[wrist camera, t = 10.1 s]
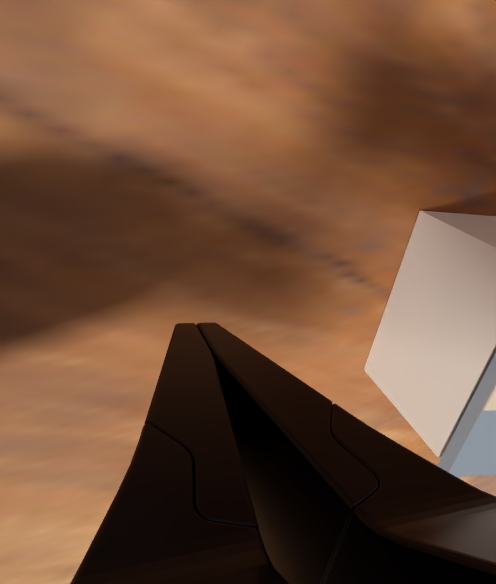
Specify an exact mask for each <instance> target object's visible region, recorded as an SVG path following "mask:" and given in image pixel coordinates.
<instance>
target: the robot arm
mask: <svg viewBox="0 0 496 584" xmlns="http://www.w3.org/2000/svg"><path fill="white" fill-rule="evenodd" d="M70 584H496V496H493V495H491V494H488V493H486V492H483V491H481V490H479V489H477V488H475V487H473V486H471V485H470V484H468V483H466V482H464V481H463V480H461V479H459V478H457V477H456V476H454V475H452V474H450V473H449V472H447V471H445V470H443V469H442V468H440V467H438V466H436V465H435V464H433V463H431V462H429V461H428V460H426V459H424V458H422V457H421V456H419V455H417V454H415V453H414V452H412V451H410V450H408V449H407V448H405V447H403V446H401V445H400V444H398V443H396V442H395V441H393V440H391V439H390V438H388V437H386V436H385V435H383V434H381V433H380V432H378V431H376V430H375V429H373V428H371V427H370V426H368V425H367V424H365V423H364V422H362V421H361V420H359V419H358V418H356V417H354V416H353V415H351V414H350V413H348V412H347V411H345V410H344V409H342V408H341V407H340V406H338V405H337V404H333V405H332V401H330V400H329V399H328V398H326V397H325V396H323V395H322V394H320V393H319V392H317V391H316V390H314V389H313V388H311V387H310V386H308V385H307V384H305V383H304V382H302V381H301V380H299V379H298V378H297V377H295V376H294V375H292V374H291V373H289V372H288V371H286V370H285V369H283V368H282V367H280V366H279V365H277V364H276V363H274V362H273V361H271V360H270V359H269V358H267V357H266V356H264V355H263V354H261V353H260V352H258V351H257V350H255V349H254V348H252V347H251V346H249V345H248V344H246V343H245V342H243V341H242V340H240V339H239V338H238V337H236V336H235V335H233V334H232V333H230V332H229V331H227V330H226V329H224V328H223V327H221V326H220V325H218V324H217V323H198V324H197V325H196V324H194V323H179V324H176V325H175V328H174V331H173V334H172V337H171V340H170V344H169V347H168V350H167V353H166V356H165V360H164V363H163V366H162V369H161V372H160V376H159V379H158V382H157V385H156V388H155V392H154V395H153V398H152V401H151V405H150V408H149V411H148V414H147V417H146V421H145V425H144V426H143V429H142V432H141V436H140V439H139V442H138V445H137V447H136V450H135V453H134V456H133V458H132V461H131V464H130V466H129V468H128V470H127V473H126V475H125V477H124V479H123V481H122V484H121V486H120V488H119V490H118V492H117V494H116V496H115V498H114V500H113V502H112V504H111V506H110V508H109V510H108V512H107V514H106V516H105V518H104V520H103V522H102V523H101V525H100V527H99V529H98V531H97V533H96V535H95V537H94V539H93V541H92V543H91V545H90V547H89V549H88V551H87V553H86V555H85V557H84V559H83V561H82V563H81V565H80V567H79V568H78V570H77V572H76V574H75V576H74V578H73V579H72V581H71V583H70Z"/></svg>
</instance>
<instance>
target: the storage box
mask: <svg viewBox="0 0 496 584" xmlns="http://www.w3.org/2000/svg"><path fill="white" fill-rule="evenodd" d="M495 353H496V216H486V215H473V214H460V213H447V212H434V211H420V212H419V215H418V217H417V220H416V223H415V226H414V229H413V232H412V234H411V237H410V240H409V243H408V246H407V249H406V251H405V254H404V257H403V260H402V263H401V266H400V268H399V271H398V274H397V277H396V280H395V283H394V285H393V288H392V291H391V294H390V297H389V300H388V302H387V305H386V308H385V311H384V314H383V317H382V319H381V322H380V325H379V328H378V331H377V334H376V336H375V339H374V342H373V345H372V348H371V351H370V353H369V356H368V359H367V362H366V365H365V368H364V370H365V371H366V373H367V374H368V375H369V376H370V377H371V379H372V380H373V381H374V382H375V383H376V384H377V386H378V387H379V388H380V389H381V390H382V392H383V393H384V394H385V395H386V396H387V397H388V399H389V400H390V401H391V402H392V403H393V405H394V406H395V407H396V408H397V409H398V411H399V412H400V413H401V414H402V415H403V416H404V418H405V419H406V420H407V421H408V422H409V424H410V425H411V426H412V427H413V428H414V429H415V431H416V432H417V433H418V434H419V435H420V437H421V438H422V439H423V440H424V441H425V443H426V444H427V445H428V446H429V447H430V448H431V450H432V451H433V452H434V453H435V454H436V456H437V457H441V456H442V455H443V453H444V452H445V450H446V448H447V446H448V444H449V442H450V440H451V438H452V436H453V434H454V432H455V430H456V428H457V426H458V424H459V423H460V421H461V419H462V417H463V415H464V413H465V411H466V409H467V407H468V405H469V403H470V401H471V399H472V397H473V395H474V394H475V392H476V390H477V388H478V386H479V384H480V382H481V380H482V378H483V376H484V374H485V372H486V370H487V368H488V366H489V365H490V363H491V361H492V359H493V357H494V355H495Z"/></svg>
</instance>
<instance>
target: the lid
mask: <svg viewBox="0 0 496 584" xmlns="http://www.w3.org/2000/svg"><path fill="white" fill-rule="evenodd" d="M437 466H438V467H440V468H442V469H443V470H445V471H447V472H449V473H450V474H452V475H454V476H456V477H466V476H479V475H492V474H496V353H495V355H494V357H493V359H492V361H491V363H490V365H489V366H488V368H487V370H486V372H485V374H484V376H483V378H482V380H481V382H480V384H479V386H478V388H477V390H476V392H475V394H474V395H473V397H472V399H471V401H470V403H469V405H468V407H467V409H466V411H465V413H464V415H463V417H462V419H461V421H460V423H459V424H458V426H457V428H456V430H455V432H454V434H453V436H452V438H451V440H450V442H449V444H448V446H447V448H446V450H445V452H444V453H443V455H442V457H441V459H440V461H439V463H438V465H437Z"/></svg>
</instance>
